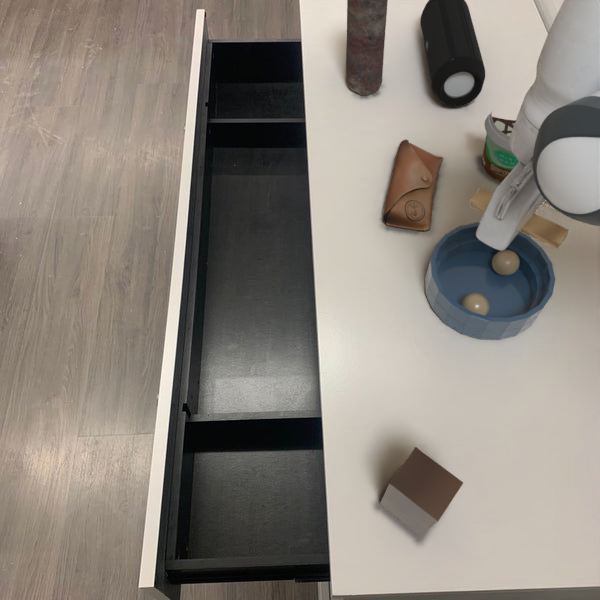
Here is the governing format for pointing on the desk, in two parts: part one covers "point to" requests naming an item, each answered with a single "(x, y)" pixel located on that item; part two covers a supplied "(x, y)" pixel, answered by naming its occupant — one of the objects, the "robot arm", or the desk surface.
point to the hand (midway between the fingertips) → (517, 221)
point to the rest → (420, 492)
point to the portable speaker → (452, 52)
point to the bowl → (487, 284)
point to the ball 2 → (505, 262)
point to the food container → (498, 148)
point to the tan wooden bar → (533, 227)
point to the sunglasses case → (412, 188)
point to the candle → (365, 44)
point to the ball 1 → (476, 303)
